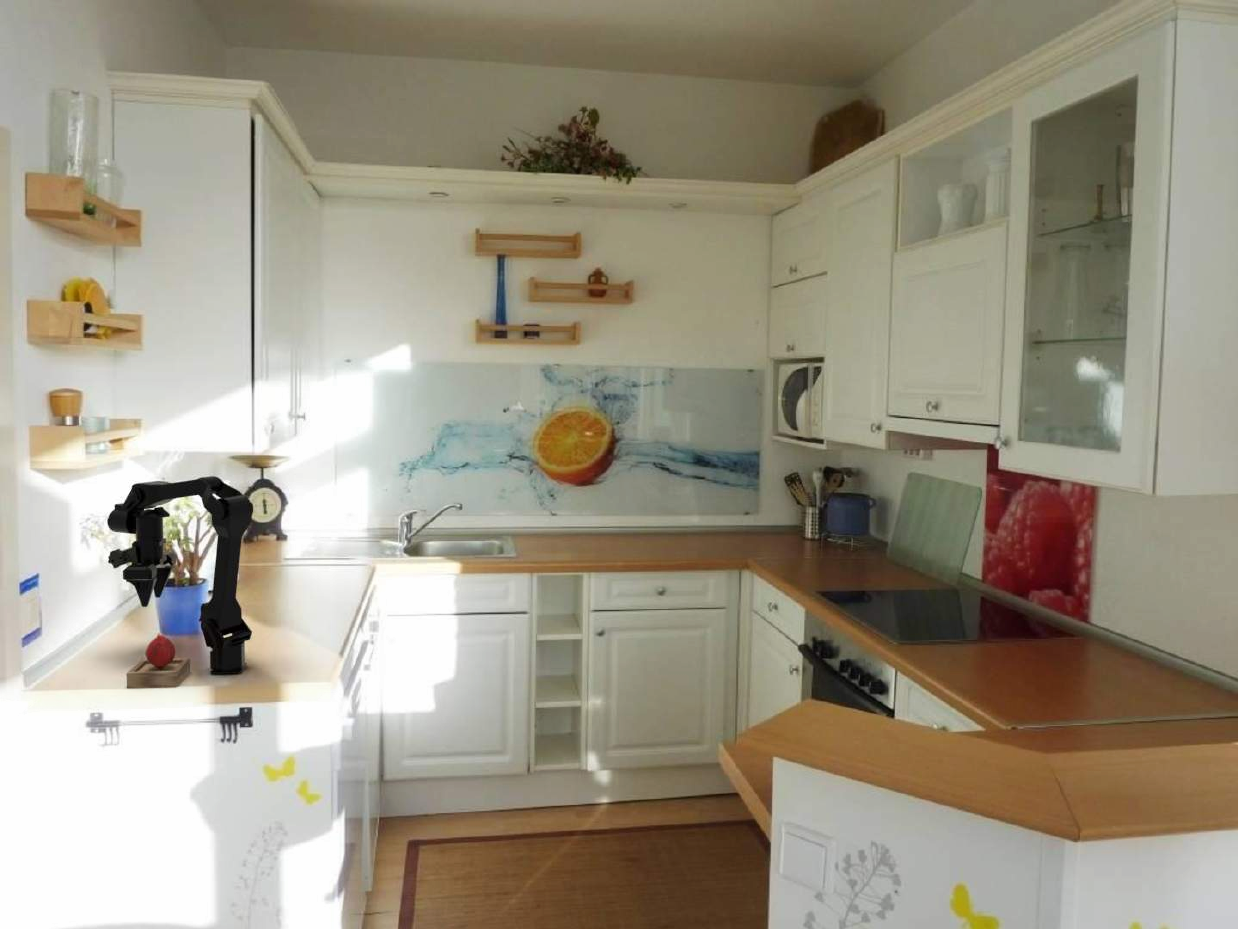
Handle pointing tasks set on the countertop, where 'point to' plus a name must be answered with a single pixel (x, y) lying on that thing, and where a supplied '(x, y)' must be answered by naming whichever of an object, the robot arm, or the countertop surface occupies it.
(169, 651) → the onion
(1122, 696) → the countertop surface
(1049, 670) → the countertop surface
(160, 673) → the brown wooden tray
